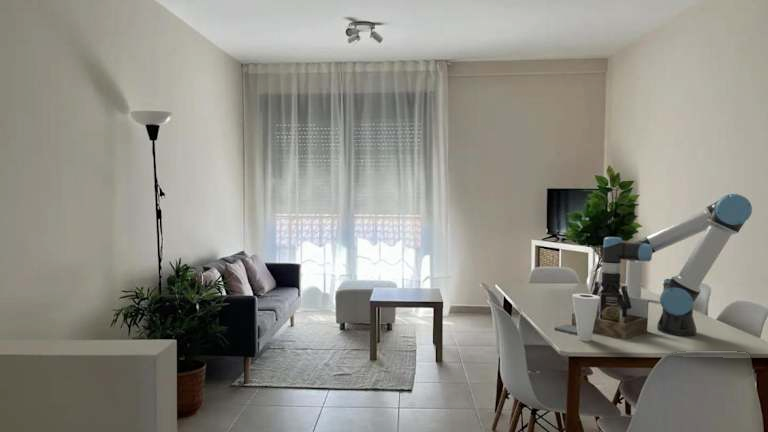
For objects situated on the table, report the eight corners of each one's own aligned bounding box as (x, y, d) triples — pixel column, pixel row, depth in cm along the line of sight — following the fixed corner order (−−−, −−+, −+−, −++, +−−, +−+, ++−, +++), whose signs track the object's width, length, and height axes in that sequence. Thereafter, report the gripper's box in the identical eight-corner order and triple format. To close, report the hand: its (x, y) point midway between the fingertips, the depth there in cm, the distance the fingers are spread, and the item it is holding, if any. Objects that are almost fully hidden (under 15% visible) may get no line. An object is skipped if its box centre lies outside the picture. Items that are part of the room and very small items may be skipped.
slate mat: (587, 331, 234) (587, 328, 233) (575, 334, 227) (575, 332, 227) (567, 326, 241) (567, 324, 241) (554, 329, 235) (554, 327, 235)
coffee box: (599, 330, 235) (600, 293, 235) (597, 326, 242) (598, 291, 241) (621, 331, 233) (623, 295, 233) (618, 328, 240) (620, 292, 239)
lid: (647, 317, 235) (648, 299, 234) (647, 317, 234) (647, 299, 234) (596, 307, 253) (596, 291, 253) (595, 308, 253) (595, 291, 252)
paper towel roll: (622, 296, 313) (624, 260, 312) (631, 296, 315) (632, 260, 314) (632, 299, 307) (633, 262, 306) (640, 298, 308) (642, 261, 307)
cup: (566, 339, 220) (567, 295, 219) (578, 334, 227) (579, 292, 226) (591, 344, 212) (593, 299, 211) (602, 339, 220) (604, 296, 219)
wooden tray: (647, 331, 235) (647, 317, 235) (624, 339, 222) (625, 324, 221) (595, 320, 253) (596, 307, 253) (571, 327, 240) (572, 313, 240)
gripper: (641, 274, 230) (639, 325, 231) (591, 268, 248) (589, 315, 249) (633, 276, 225) (631, 328, 226) (582, 269, 243) (580, 317, 244)
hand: (609, 321), depth 237 cm, fingers closed on coffee box, 11 cm apart
